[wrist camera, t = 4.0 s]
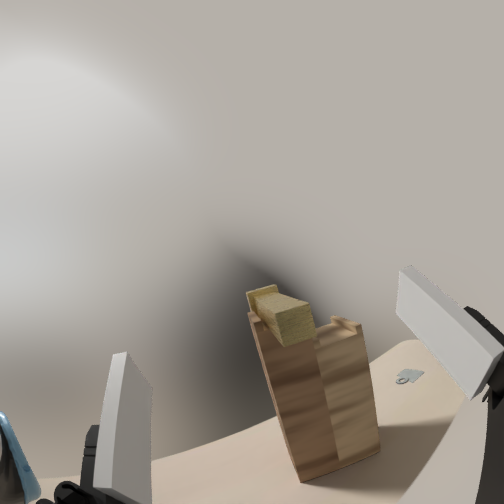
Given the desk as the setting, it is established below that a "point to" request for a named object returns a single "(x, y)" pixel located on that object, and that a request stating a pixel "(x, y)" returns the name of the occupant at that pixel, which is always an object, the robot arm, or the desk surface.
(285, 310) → the golden wooden bar
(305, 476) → the hinge block
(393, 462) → the desk surface
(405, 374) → the mounting bracket
